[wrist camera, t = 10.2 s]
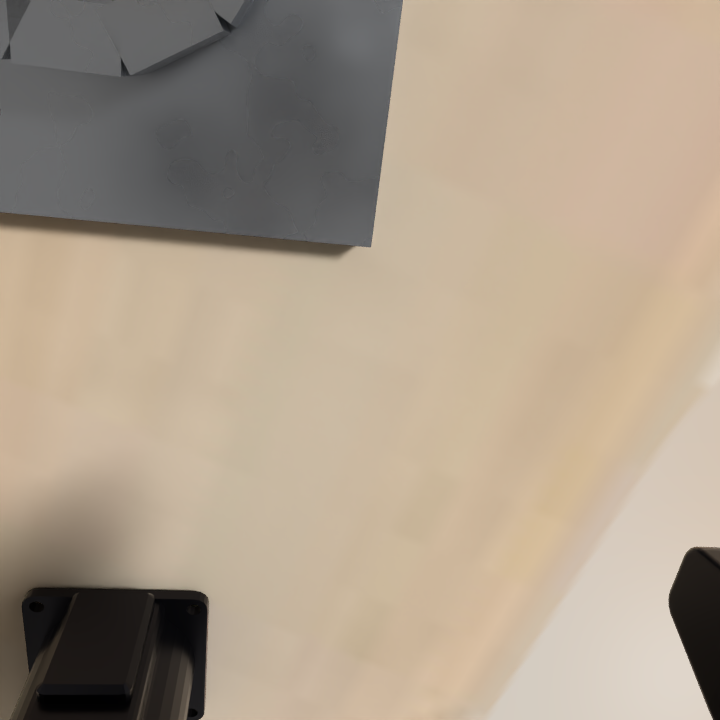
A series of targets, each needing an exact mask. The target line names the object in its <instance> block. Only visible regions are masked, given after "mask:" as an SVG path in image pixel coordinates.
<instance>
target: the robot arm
mask: <svg viewBox="0 0 720 720" xmlns="http://www.w3.org/2000/svg"><path fill="white" fill-rule="evenodd" d="M35 601H37V602H40V603H42V604H38V603H36V602H35ZM193 604H195V605H198V606H197V607H193V606H191V605H193ZM669 608H670V613H671V616H672V618H673V621H674V623H675V626H676V629H677V631H678V633H679V636H680V638H681V641H682V643H683V646H684V649H685V651H686V653H687V656H688V659H689V661H690V664H691V666H692V669H693V671H694V674H695V676H696V679H697V681H698V684H699V686H700V689H701V692H702V694H703V696H704V699H705V702H706V704H707V707H708V709H709V711H710V714H711V716H712V718H713V720H720V548H717V547H694V548H691V549H690V550H689V551H687V553H686V554H685V556H684V558H683V561H682V563H681V566H680V568H679V571H678V573H677V575H676V578H675V581H674V583H673V585H672V588H671V590H670V594H669ZM22 613H23V622H24V631H25V639H26V648H27V657H28V666H29V676H28V678H27V681H26V683H25V685H24V688H23V690H22V693H21V695H20V697H19V700H18V702H17V704H16V707H15V709H14V711H13V714H12V716H11V718H10V720H199V719H201V718H202V717H203V715H204V709H205V695H206V668H207V641H208V613H209V600H208V597H207V596H206V595H205V594H203V593H201V592H196V591H153V590H107V589H61V588H36V589H32V590H30V591H29V592H28V593H27V594H26V596H25V598H24V600H23V602H22Z"/></svg>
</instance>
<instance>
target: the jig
mask: <svg viewBox="0 0 720 720" xmlns="http://www.w3.org/2000/svg"><path fill="white" fill-rule="evenodd" d="M402 3H403V0H0V212H4V213H14V214H25V215H35V216H46V217H56V218H67V219H77V220H88V221H98V222H109V223H120V224H130V225H141V226H151V227H162V228H172V229H183V230H193V231H204V232H214V233H225V234H236V235H246V236H257V237H267V238H278V239H288V240H299V241H309V242H320V243H330V244H341V245H352V246H362V247H371V243H372V235H373V227H374V219H375V212H376V204H377V196H378V188H379V181H380V173H381V165H382V158H383V150H384V142H385V134H386V127H387V119H388V111H389V104H390V96H391V88H392V80H393V73H394V65H395V57H396V50H397V42H398V34H399V26H400V19H401V11H402Z"/></svg>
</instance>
